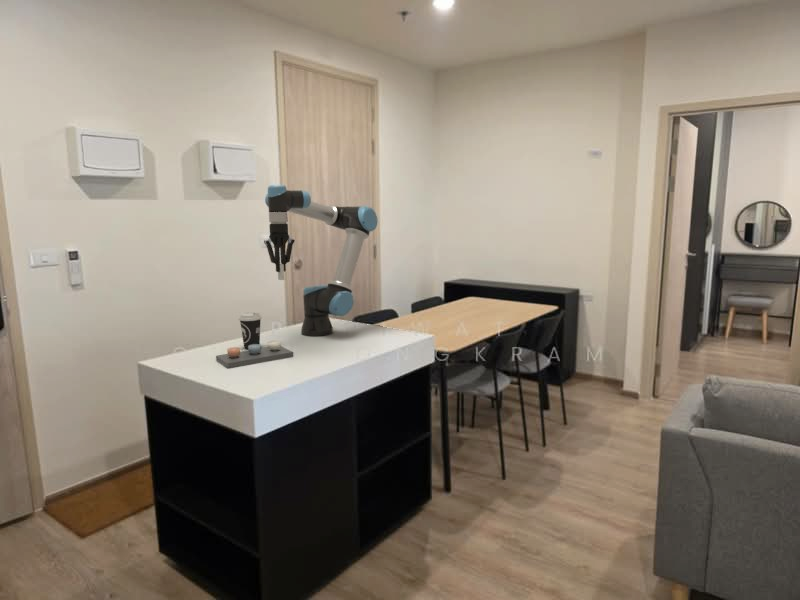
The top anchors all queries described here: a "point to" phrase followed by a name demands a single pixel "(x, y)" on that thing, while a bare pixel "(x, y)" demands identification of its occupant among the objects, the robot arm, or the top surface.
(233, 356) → the button terracotta
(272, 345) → the button cream
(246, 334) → the coffee cup
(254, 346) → the button blue
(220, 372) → the top surface
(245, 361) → the panel
